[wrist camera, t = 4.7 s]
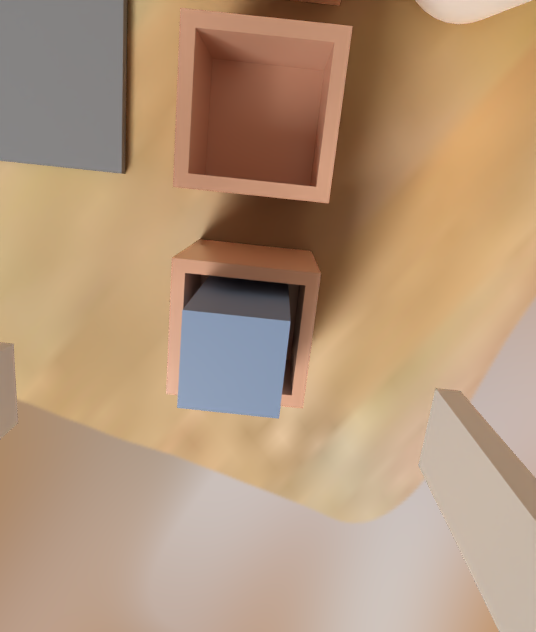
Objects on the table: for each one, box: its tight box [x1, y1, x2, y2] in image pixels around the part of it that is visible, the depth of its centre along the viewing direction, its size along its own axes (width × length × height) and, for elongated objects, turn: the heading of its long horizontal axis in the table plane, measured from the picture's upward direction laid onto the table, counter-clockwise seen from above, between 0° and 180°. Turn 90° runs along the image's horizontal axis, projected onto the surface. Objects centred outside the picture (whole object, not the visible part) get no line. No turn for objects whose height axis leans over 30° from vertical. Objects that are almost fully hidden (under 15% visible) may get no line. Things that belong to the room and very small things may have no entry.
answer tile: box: [0, 0, 127, 174], centre depth 24 cm, size 10×10×1 cm
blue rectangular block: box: [177, 275, 291, 418], centre depth 21 cm, size 4×4×8 cm
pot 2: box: [166, 239, 321, 408], centre depth 24 cm, size 6×6×7 cm
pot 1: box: [173, 8, 353, 203], centre depth 21 cm, size 6×6×7 cm
